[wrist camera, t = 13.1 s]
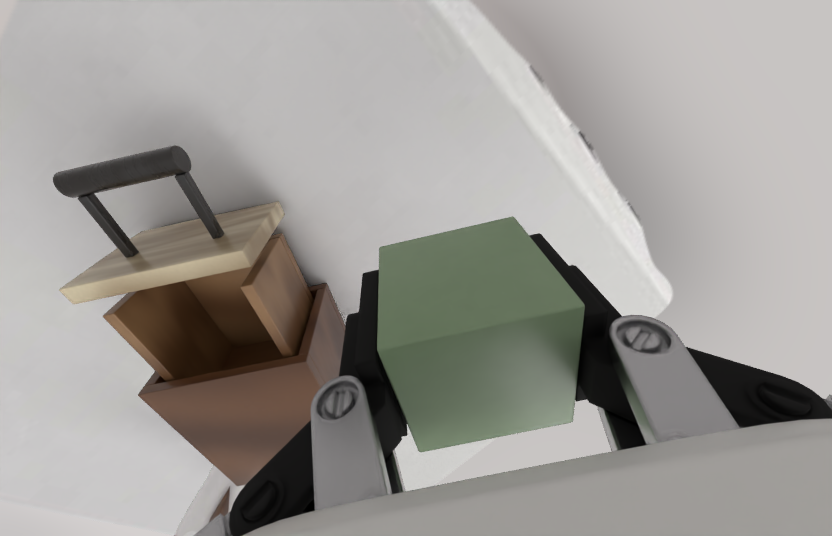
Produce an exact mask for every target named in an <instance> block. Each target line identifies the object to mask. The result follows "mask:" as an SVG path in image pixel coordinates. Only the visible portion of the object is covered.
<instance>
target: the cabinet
mask: <svg viewBox="0 0 832 536" xmlns="http://www.w3.org/2000/svg"><path fill="white" fill-rule="evenodd" d="M308 288H309V290H310V292H311V294H312V297H313V299H314V304H313V307H312V310H311V314H310V317H309V321H308V324H307V327H306V331H305V334H304V337H303V341H302V344H301V348H300V351H299V355H298V356H293V357H288V358H283V359H278V360H273V361H268V362H263V363H258V364H253V365H248V366H243V367H238V368H233V369H228V370H223V371H218V372H213V373H208V374H203V375H198V376H193V377H188V378H183V379H178V380H173V381H168V382H166V381H165V380H164V379H163V378H162V377H161V376H160V375H159V374H158V373H157V372H156V371H155V372H154V374H153V375H152V376H151V378H150V379H149V380H148V382H147V383H146V385H145V386H144V387H143V389H142V390H141V391H140V393H139V394H138V396H139V397H140V398H141V399H142V400H143V401H145V402H146V403H147V404H148V405H149V406H150V407H151V408H152V409H153V410H154V411H155V412H157V413H158V414H159V415H160V416H161V417H162V418H163V419H164V420H165V421H166V422H167V423H169V424H170V425H171V426H172V427H173V428H174V429H175V430H176V431H177V432H178V433H179V434H181V435H182V436H183V437H184V438H185V439H186V440H187V441H188V442H189V443H190V444H191V445H193V446H194V447H195V448H196V449H197V450H198V451H199V452H200V453H201V454H202V455H203V456H205V457H206V458H207V459H208V460H209V461H210V462H211V463H212V464H213V465H214V466H215V467H217V468H218V469H219V470H220V471H221V472H222V473H223V474H224V475H225V476H226V477H227V478H229V479H230V480H231V481H232V482H233V483H234V484H235V485H236V486H242V485H246V484H247V483H248V482H249V481H250V480H251V479H252V478H253V477H254V476H255V475H256V474H257V473H258V472H259V471H260V470H261V469H262V468H263V467H264V466H265V465H266V464H267V463H268V462H269V461H270V460H271V459H272V458H273V457H274V456H275V455H276V454H277V453H278V452H279V451H280V450H281V449H282V448H283V447H284V446H285V445H286V444H287V443H288V442H289V441H290V440H291V439H292V438H293V437H294V436H295V435H296V434H297V433H298V432H299V431H300V430H301V429H302V428H303V427H304V426H305V425H306V424H307V423H308V422H309V421H310V420H311V411H310V410H311V402H312V400H313V398H314V396H315V394H316V393H317V391H318V390H319V389H320V388H321V387H322V386H323V385H324V384H325V383H327V382H328V381H330V380H332V379H334V378H336V377H339V371H340V364H341V357H342V349H343V342H344V335H345V328H346V327H345V324H344V322H343V320H342V317H341V315H340V313H339V310H338V308H337V306H336V303H335V301H334V299H333V296H332V294H331V292H330V290H329V287H328V285H327V283H325V284H320V285H315V286H310V287H308Z"/></svg>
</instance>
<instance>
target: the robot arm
mask: <svg viewBox="0 0 832 536" xmlns="http://www.w3.org/2000/svg"><path fill="white" fill-rule="evenodd" d="M530 238H531V239H532V240H533V241H534V242H535V244H536V245H537V246H538V247H539V249H540V250H541V251H542V252H543V254H544V255H545V256H546V257H547V259H548V260H549V261H550V262H551V264H552V265H553V266H554V267H555V269H556V270H557V271H558V272H559V273H560V275H561V276H562V277H563V278H564V280H565V281H566V282H567V283H568V285H569V286H570V287H571V288H572V290H573V291H574V292H575V293H576V295H577V296H578V297H579V298H580V300H581V301H582V302H583V303H584V305H585V310H584V320H583V329H582V339H581V348H580V358H579V367H578V377H577V386H576V396H575V400H576V401H580V400H586V399H588V401H589V402H590V403H592V404H594V405H596V406H598V411H599V414H600V417H601V420H602V423H603V426H604V429H605V433H606V436H607V438H608V442H609V445H610V447H611V451H612V452H608V453H602V454H597V455H592V456H587V457H581V458H576V459H571V460H565V461H561V462H556V463H550V464H545V465H539V466H535V467H529V468H524V469H519V470H514V471H508V472H503V473H499V474H493V475H488V476H483V477H477V478H473V479H467V480H463V481H457V482H452V483H447V484H442V485H437V486H432V487H427V488H422V489H417V490H412V491H405V487H404V483H403V479H402V476H401V472H400V468H399V464H398V461H397V457H396V453H395V450H394V449H395V448H396V447H397V445H398V444H399V443H400V441H401V440H402V438H401V437H402V436H407V421H406V419H405V417H404V414H403V412H402V409H401V407H400V404H399V402H398V400H397V397H396V395H395V392H394V390H393V387H392V385H391V383H390V380H389V378H388V375H387V373H386V370H385V368H384V365H383V363H382V361H381V358H380V356H379V353H378V351H377V329H378V284H379V270H375V271H371V272H367V273H363V277H362V287H361V298H360V308H359V312H358V313H354V314H349V315H348V316H347V321H346V328H345V335H344V342H343V349H342V357H341V364H340V371H339V377H336V378H334V379H332V380H330V381H328V382H327V383H325V384H324V385H323V386H322V387H321V388H320V389H319V390H318V391H317V393H316V394H315V396H314V398H313V400H312V402H311V410H310V411H311V420H310V421H309V422H308V423H307V424H306V425H305V426H304V427H303V428H302V429H301V430H300V431H299V432H298V433H297V434H296V435H295V436H294V437H293V438H292V439H291V440H290V441H289V442H288V443H287V444H286V445H285V446H284V447H283V448H282V449H281V450H280V451H279V452H278V453H277V454H276V455H275V456H274V457H273V458H272V459H271V460H270V461H269V462H268V463H267V464H266V465H265V466H264V467H263V468H262V469H261V470H260V471H259V472H258V473H257V474H256V475H255V476H254V477H253V478H252V479H251V480H250V481H249V482H248V483H247V484H246V485H245V486H244V487H243V489H242V490H241V491H240V492H239V494H238V496H237V498H236V499H235V501H234V503H233V506H232V509H231V511H230V512H229V513H227V514H226V515H225V516H223V515H222V514H221V513H220V514H219V515H218V516H217V517H215V518H214V519H213V520H212V521H211V522H209V523H208V524H207V525H206V526H204V527H203V528H202V529H201V530H200V531H198V532H197V533H196V534H195V535H194V536H832V395H829V396H828V397H827V399H822V398H821V397H820V396H819V395H817V394H816V393H815V392H813V391H812V390H810V389H809V388H807V387H805V386H804V385H802V384H800V383H798V382H796V381H793V380H791V379H788V378H786V377H783V376H780V375H777V374H774V373H770V372H766V371H764V370H760V369H757V368H753V367H750V366H747V365H744V364H740V363H737V362H733V361H730V360H727V359H724V358H721V357H717V356H714V355H711V354H708V353H704V352H701V351H697V350H694V349H691V348H688V347H685V346H684V344H683V343H682V341H681V340H680V338H679V337H678V335H677V334H676V333H675V332H674V331H673V329H672V328H671V327H669V326H668V325H666V324H665V323H663V322H661V321H659V320H656V319H654V318H651V317H647V316H642V315H628V316H621V315H620V314H619V312H618V311H617V310H616V309H615V308H614V307H613V306H612V305H611V304H610V303H609V301H608V300H607V299H606V298H605V297H604V296H603V295H602V294H601V293H600V292H599V291H598V289H597V288H596V287H595V286H594V285H593V284H592V283H591V282H590V281H589V280H588V278H587V277H586V276H585V275H584V274H583V273H582V272H581V271H580V270H579V269H578V268H577V267H576V266H574V265H571V266H568V265H567V263H566V262H565V261H564V260H563V259H562V258H561V257H560V255H559V254H558V253H557V252H556V251H555V250H554V249H553V247H552V246H551V245H550V244H549V243H548V242H547V241H546V240H545V238H544V237H543V236H542V235H541V234H534V235H530Z"/></svg>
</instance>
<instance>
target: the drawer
mask: <svg viewBox="0 0 832 536" xmlns="http://www.w3.org/2000/svg"><path fill="white" fill-rule="evenodd" d="M190 170H191V161H190V159H189V157H188V155H187V153H186V152H185V151H184V150H183V149H182V148H181V147H179V146H175V145H174V146H170V147H165V148H161V149H157V150H152V151H148V152H144V153H139V154H135V155H131V156H126V157H122V158H118V159H113V160H109V161H104V162H100V163H96V164H91V165H87V166H83V167H78V168H74V169H70V170H65V171H61V172H58V173H56V174H55V175H54V177H53V182H54V185H55V187H56V188H57V190H58V191H59V192H61V193H62V194H63V195H65V196H68V197H72V198H76V197H79V198H78V200H79V201H80V202H81V203H82V205H83V206H84V207H85V208H86V209H87V211H88V212H89V213H90V214H91V216H92V217H93V218H94V219H95V221H96V222H97V223H98V224H99V225H100V227H101V228H102V229H103V230H104V232H105V233H106V234H107V235H108V237H109V238H110V239H111V240H112V241H113V243H114V244H115V245H116V246H117V249H116V250H114V251H113V252H111V253H110V254H108V255H107V256H106V257H104V258H103V259H101V260H100V261H99V262H97V263H96V264H94V265H93V266H91V267H90V268H89V269H87V270H86V271H84V272H83V273H81V274H80V275H79V276H77V277H76V278H74V279H73V280H72V281H70V282H69V283H67V284H66V285H64V286H63V287H62V288H60V289H59V291H60V292H61V293H62V294H63V295H64V296H65V297H66V298H67V299H68V300H69V301H70V302H71V303H72V304H78V303H83V302H87V301H92V300H97V299H101V298H106V297H111V296H116V295H120V294H125V293H127V294H126V295H125V296H124V297H123V298H122V299H121V300H120V301H119V302H117V303H116V304H115V305H114V306H113V307H112V308H111V309H110V310H109V311H108V312H106V313H105V314H104V315H103V317H104V318H105V319H106V320H107V322H108V323H109V324H110V325H111V326H112V327H113V328H114V329H115V330H116V331H117V332H118V333H119V334H120V335H121V336H122V337H123V338H124V339H125V340H126V341H127V342H128V343H129V344H130V345H131V346H132V347H133V348H134V349H135V350H136V351H137V352H138V353H139V354H140V355H141V356H142V357H143V358H144V359H145V360H146V362H147V363H148V364H149V365H150V366H151V367H152V368H153V369H154V370H155V371H156V372H157V373H158V374H159V375H160V376H161V377H162V378H163V379H164V380H165V381H166V382H168V381H173V380H178V379H183V378H188V377H193V376H198V375H203V374H208V373H213V372H218V371H223V370H228V369H233V368H238V367H243V366H248V365H253V364H258V363H263V362H268V361H273V360H278V359H283V358H288V357H293V356H298V355H299V351H300V348H301V344H302V341H303V337H304V334H305V331H306V327H307V324H308V321H309V317H310V314H311V310H312V307H313V304H314V299H313V297H312V294H311V292H310V290H309V288H308V286H307V284H306V282H305V280H304V278H303V275H302V273H301V271H300V269H299V267H298V265H297V263H296V261H295V259H294V256H293V254H292V252H291V250H290V248H289V246H288V244H287V242H286V240H285V238H284V235H283V233H280V234H275V235H272V234H273V232H274V231H275V229H276V227H277V226H278V224H279V223H280V221H281V220H282V218H283V217H284V215H285V214H284V212H283V210H282V208H281V205H280V203H279V201H277V202H273V203H268V204H264V205H259V206H255V207H250V208H246V209H241V210H236V211H232V212H227V213H223V214H218V215H214V214H213V213H212V211H211V209H210V208H209V206H208V204H207V202H206V201H205V199H204V197H203V196H202V194H201V192H200V190H199V189H198V187H197V185H196V184H195V182H194V180H193V178H192V177H191V175H190V173H189V171H190ZM173 175H176V176H175V178H176V180H177V181H178V183H179V185H180V186H181V188H182V190H183V191H184V193H185V194H186V196H187V198H188V199H189V201H190V203H191V204H192V206H193V207H194V209H195V211H196V212H197V214H198V216H199V217H200V219H196V220H191V221H186V222H182V223H177V224H173V225H168V226H164V227H159V228H155V229H150V230H145V231H141V232H140V233H138V234H137V235H135V236H134V237H133V238H131V239H129V238H128V237H127V236H126V234H125V233H124V232H123V230H122V229H121V228H120V227H119V225H118V224H117V223H116V221H115V220H114V219H113V218H112V216H111V215H110V214H109V212H108V211H107V210H106V209H105V207H104V206H103V205H102V203H101V202H100V201H99V199H98V198H97V197H96V196H95V194H94V193H98V192H103V191H107V190H111V189H116V188H120V187H125V186H129V185H134V184H138V183H142V182H147V181H151V180H156V179H160V178H165V177H169V176H173Z"/></svg>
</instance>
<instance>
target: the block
mask: <svg viewBox="0 0 832 536" xmlns="http://www.w3.org/2000/svg"><path fill="white" fill-rule="evenodd" d="M584 310H585V305H584V303H583V302H582V301H581V300H580V298H579V297H578V296H577V295H576V293H575V292H574V291H573V290H572V288H571V287H570V286H569V285H568V283H567V282H566V281H565V280H564V278H563V277H562V276H561V275H560V273H559V272H558V271H557V270H556V269H555V267H554V266H553V265H552V264H551V262H550V261H549V260H548V259H547V257H546V256H545V255H544V254H543V252H542V251H541V250H540V249H539V247H538V246H537V245H536V244H535V242H534V241H533V240H532V239H531V238H530V236H529V235H528V234H527V233H526V231H525V230H524V229H523V228H522V226H521V225H520V224H519V223H518V221H517V220H516V219H515V218H514V217H509V218H504V219H500V220H495V221H491V222H487V223H482V224H478V225H474V226H469V227H465V228H461V229H456V230H452V231H448V232H443V233H439V234H435V235H430V236H426V237H422V238H417V239H413V240H409V241H404V242H400V243H396V244H391V245H387V246H383V247H380V248H379V284H378V329H377V351H378V353H379V356H380V358H381V361H382V363H383V365H384V368H385V370H386V373H387V375H388V378H389V380H390V383H391V385H392V387H393V390H394V392H395V395H396V397H397V400H398V402H399V404H400V407H401V409H402V412H403V414H404V417H405V419H406V421H407V424H408V426H409V429H410V431H411V434H412V436H413V438H414V441H415V443H416V446H417V448H418V451H419V452H425V451H430V450H435V449H440V448H445V447H450V446H455V445H460V444H465V443H470V442H475V441H480V440H486V439H491V438H496V437H501V436H506V435H511V434H515V433H521V432H526V431H531V430H536V429H541V428H546V427H551V426H556V425H561V424H566V423H571V422H573V415H574V405H575V396H576V386H577V377H578V367H579V358H580V348H581V339H582V329H583V320H584Z"/></svg>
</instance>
